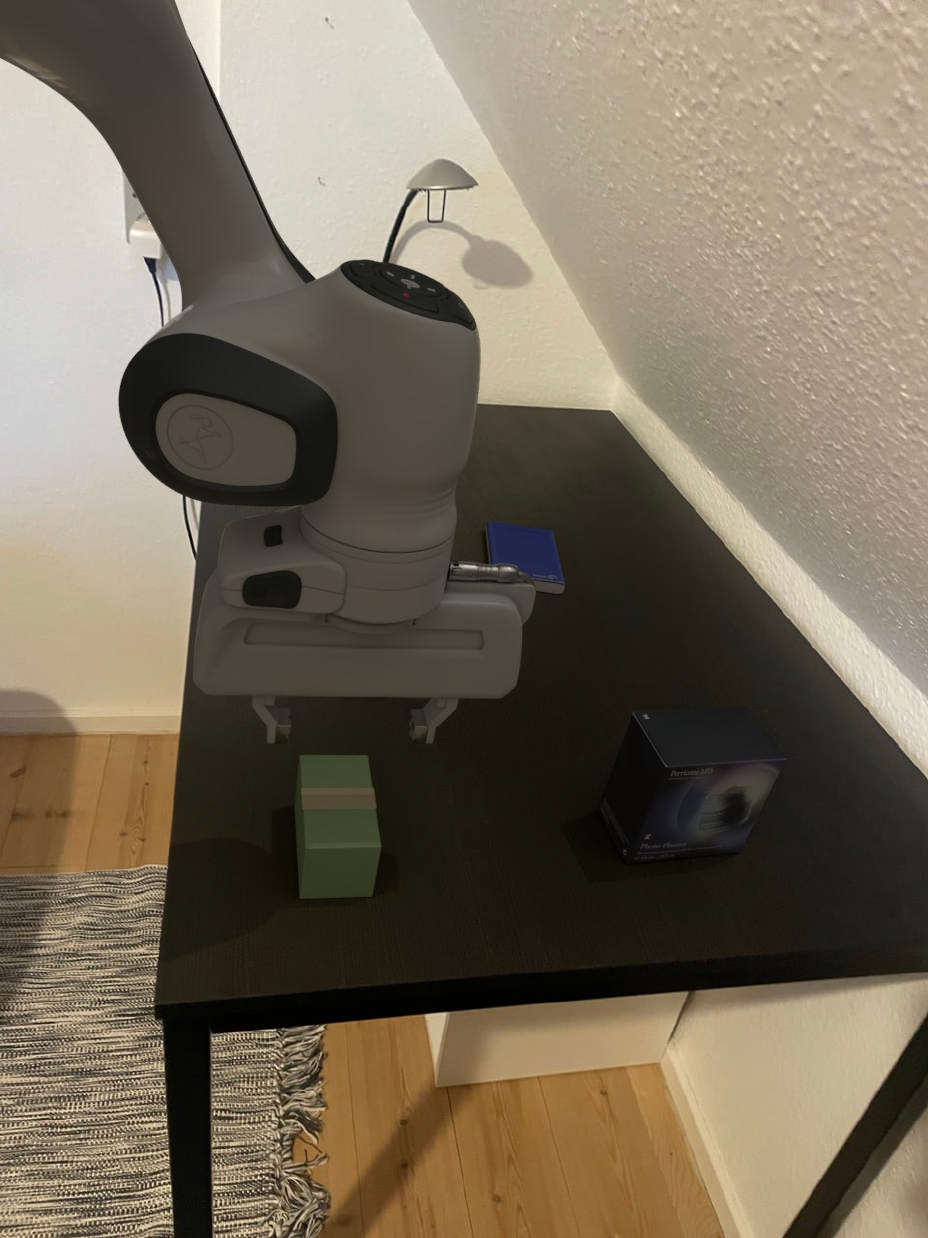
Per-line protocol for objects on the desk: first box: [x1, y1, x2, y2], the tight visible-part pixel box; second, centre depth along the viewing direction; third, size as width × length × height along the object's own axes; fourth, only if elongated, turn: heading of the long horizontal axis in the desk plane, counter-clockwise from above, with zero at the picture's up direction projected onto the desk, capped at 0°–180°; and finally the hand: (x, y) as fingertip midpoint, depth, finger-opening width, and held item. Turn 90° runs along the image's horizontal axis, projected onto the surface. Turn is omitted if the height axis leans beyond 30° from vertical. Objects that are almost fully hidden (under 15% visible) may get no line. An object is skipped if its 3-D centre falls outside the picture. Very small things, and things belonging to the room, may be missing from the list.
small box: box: [595, 705, 787, 865], centre depth 73 cm, size 11×6×10 cm, turn 105°
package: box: [293, 754, 382, 900], centre depth 67 cm, size 5×9×5 cm, turn 10°
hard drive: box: [485, 521, 566, 595], centre depth 109 cm, size 2×8×12 cm
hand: (350, 737), depth 63 cm, fingers open, 8 cm apart
